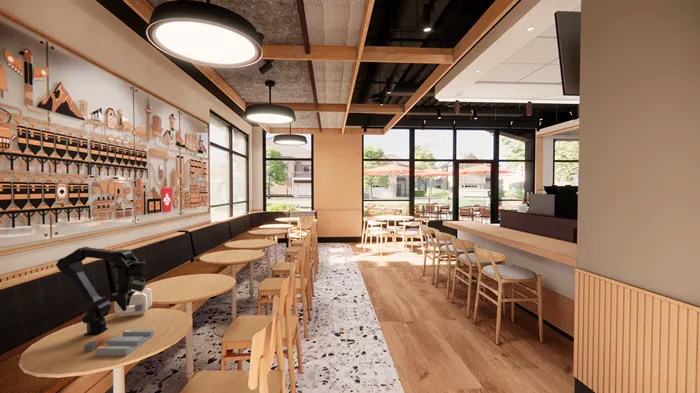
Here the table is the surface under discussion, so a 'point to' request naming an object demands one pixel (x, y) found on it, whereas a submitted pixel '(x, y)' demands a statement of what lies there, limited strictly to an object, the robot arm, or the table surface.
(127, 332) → the ribbed grooved tray
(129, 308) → the white-handled mallet
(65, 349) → the table surface
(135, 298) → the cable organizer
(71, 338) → the table surface
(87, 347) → the orange-handled mallet
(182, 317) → the table surface
